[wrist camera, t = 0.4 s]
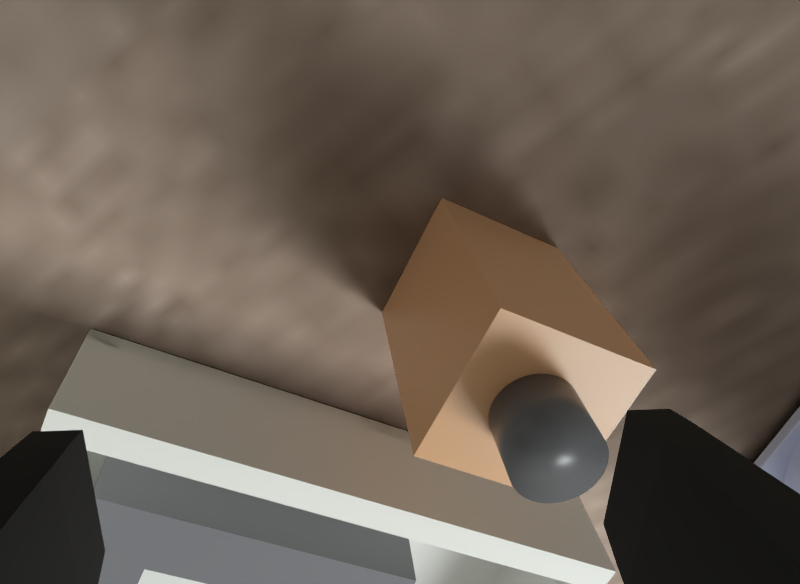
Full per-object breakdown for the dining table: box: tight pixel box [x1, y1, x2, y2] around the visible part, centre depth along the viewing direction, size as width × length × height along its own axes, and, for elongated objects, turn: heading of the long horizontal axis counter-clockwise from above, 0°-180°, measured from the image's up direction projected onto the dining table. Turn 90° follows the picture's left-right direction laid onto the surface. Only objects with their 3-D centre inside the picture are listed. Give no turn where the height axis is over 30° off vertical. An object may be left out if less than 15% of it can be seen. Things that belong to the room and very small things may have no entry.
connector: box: [382, 198, 656, 503], centre depth 16 cm, size 4×4×8 cm
